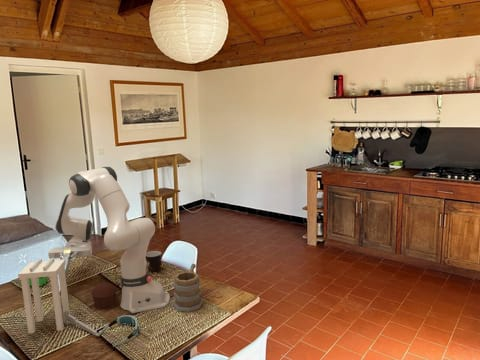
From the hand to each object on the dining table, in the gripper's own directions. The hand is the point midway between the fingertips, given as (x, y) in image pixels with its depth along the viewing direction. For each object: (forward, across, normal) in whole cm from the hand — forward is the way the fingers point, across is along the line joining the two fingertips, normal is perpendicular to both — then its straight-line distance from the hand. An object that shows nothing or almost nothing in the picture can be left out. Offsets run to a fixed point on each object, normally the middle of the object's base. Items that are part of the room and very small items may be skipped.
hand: (66, 258), depth 184 cm
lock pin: (+6, 0, +6) cm, 8 cm away
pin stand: (+29, 0, +18) cm, 34 cm away
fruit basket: (-13, -21, +19) cm, 31 cm away
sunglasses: (+42, +31, +18) cm, 55 cm away
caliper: (+35, +14, +18) cm, 42 cm away
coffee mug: (-17, +40, +18) cm, 47 cm away
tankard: (+20, +59, +18) cm, 65 cm away
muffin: (+16, +20, +18) cm, 32 cm away
